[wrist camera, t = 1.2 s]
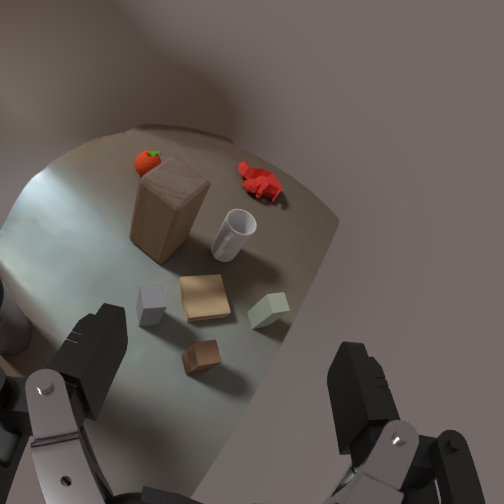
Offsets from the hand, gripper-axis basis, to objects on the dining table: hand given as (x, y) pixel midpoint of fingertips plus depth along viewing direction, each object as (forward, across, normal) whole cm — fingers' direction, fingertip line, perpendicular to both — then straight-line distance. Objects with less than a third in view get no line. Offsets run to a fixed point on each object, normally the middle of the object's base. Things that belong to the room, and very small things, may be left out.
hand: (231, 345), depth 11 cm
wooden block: (+53, -18, -23) cm, 61 cm away
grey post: (+38, -16, -32) cm, 52 cm away
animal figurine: (+82, +1, -14) cm, 83 cm away
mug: (+56, -4, -26) cm, 62 cm away
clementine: (+69, -28, -11) cm, 75 cm away
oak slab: (+45, -6, -31) cm, 55 cm away
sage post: (+46, +7, -34) cm, 58 cm away
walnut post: (+33, -5, -38) cm, 50 cm away
